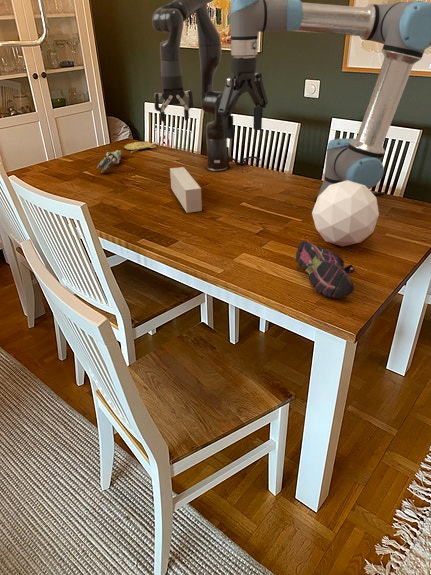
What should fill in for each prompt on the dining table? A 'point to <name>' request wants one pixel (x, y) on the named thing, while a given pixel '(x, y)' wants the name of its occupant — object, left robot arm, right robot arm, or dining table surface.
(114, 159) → the figurine
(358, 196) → the sphere
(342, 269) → the athletic shoe
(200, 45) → the left robot arm
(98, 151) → the dining table surface
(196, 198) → the bar
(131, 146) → the decorative object
